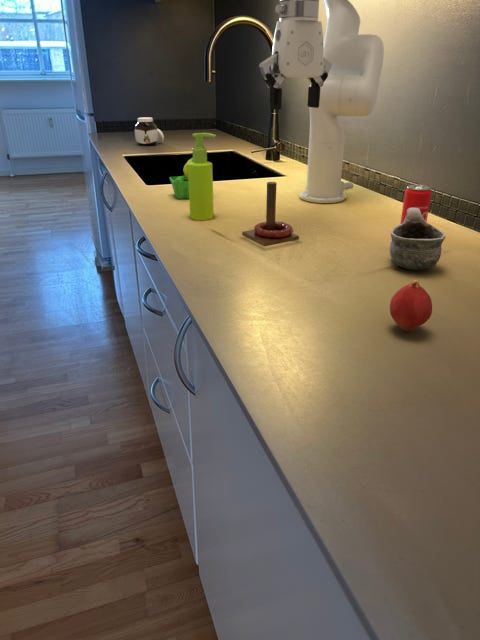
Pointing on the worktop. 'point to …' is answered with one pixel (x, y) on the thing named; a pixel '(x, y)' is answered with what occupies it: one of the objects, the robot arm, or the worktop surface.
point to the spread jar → (147, 132)
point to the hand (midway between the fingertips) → (294, 108)
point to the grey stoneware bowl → (415, 242)
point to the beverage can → (417, 200)
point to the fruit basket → (181, 183)
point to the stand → (270, 221)
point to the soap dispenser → (200, 181)
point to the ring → (284, 231)
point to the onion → (411, 306)
